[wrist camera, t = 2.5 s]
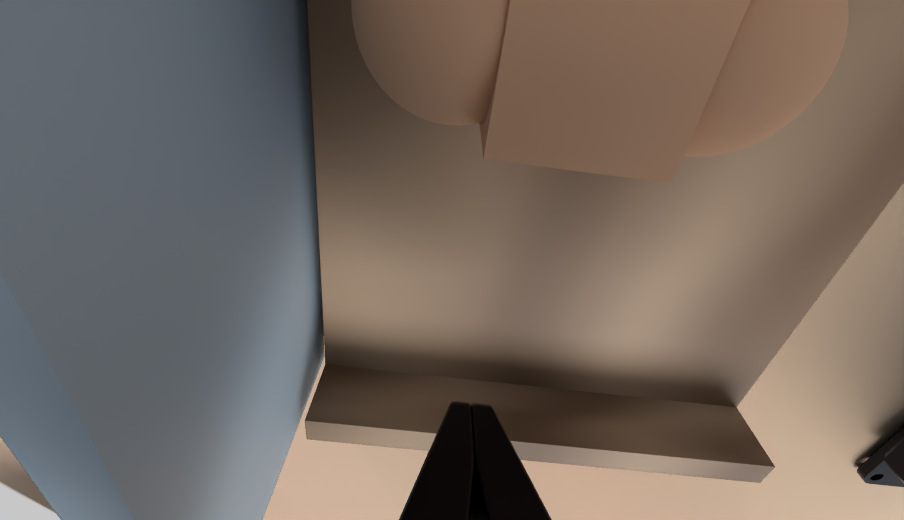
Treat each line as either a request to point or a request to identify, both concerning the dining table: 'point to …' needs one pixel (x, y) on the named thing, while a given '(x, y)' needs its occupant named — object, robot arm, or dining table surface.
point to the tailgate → (156, 252)
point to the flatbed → (582, 267)
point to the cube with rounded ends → (604, 74)
